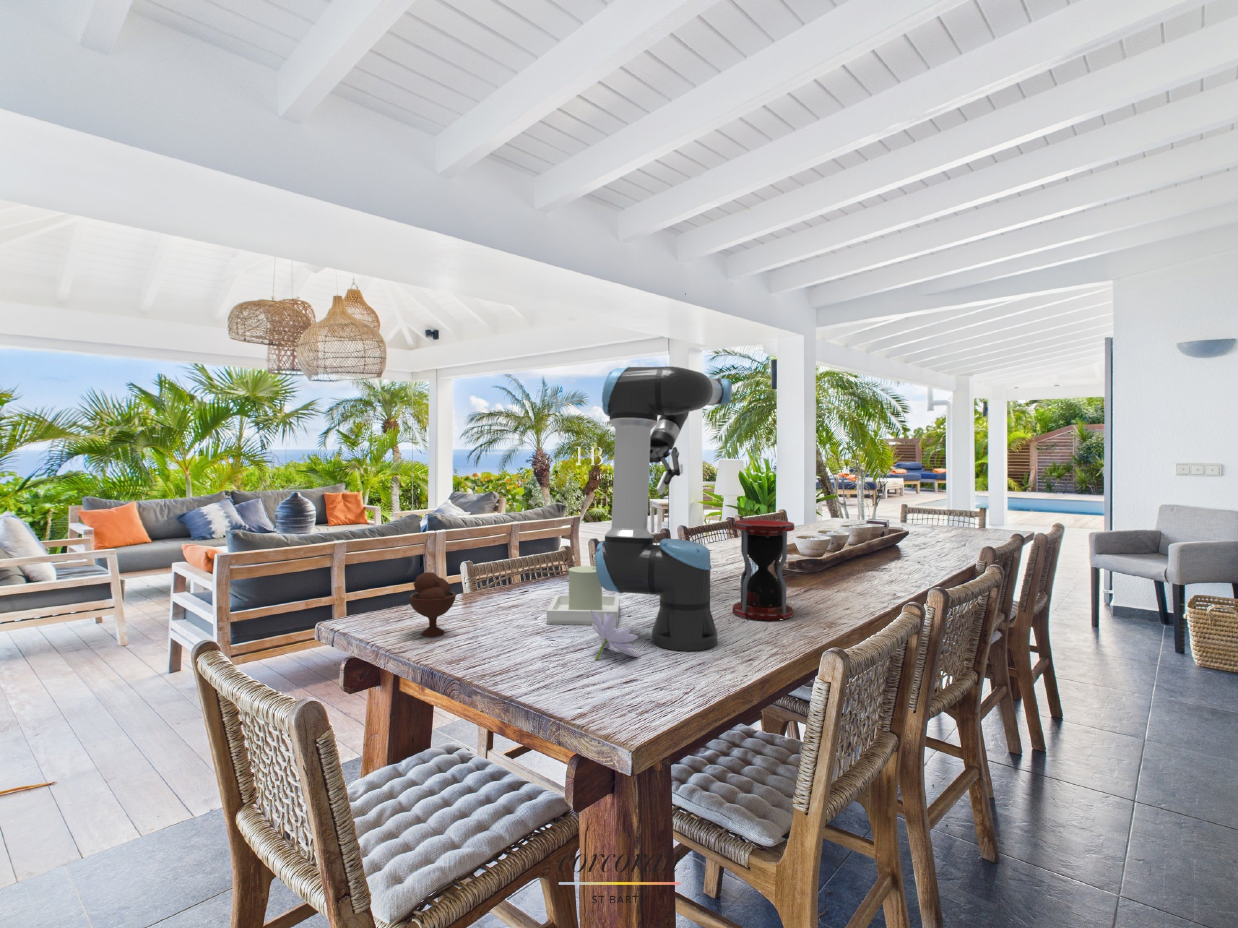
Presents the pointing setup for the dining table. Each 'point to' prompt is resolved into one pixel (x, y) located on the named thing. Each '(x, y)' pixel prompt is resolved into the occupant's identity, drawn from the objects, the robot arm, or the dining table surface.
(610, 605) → the grey tray
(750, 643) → the dining table surface
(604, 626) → the water lily
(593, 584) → the can
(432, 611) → the ice cream bowl
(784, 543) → the hourglass
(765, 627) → the dining table surface
